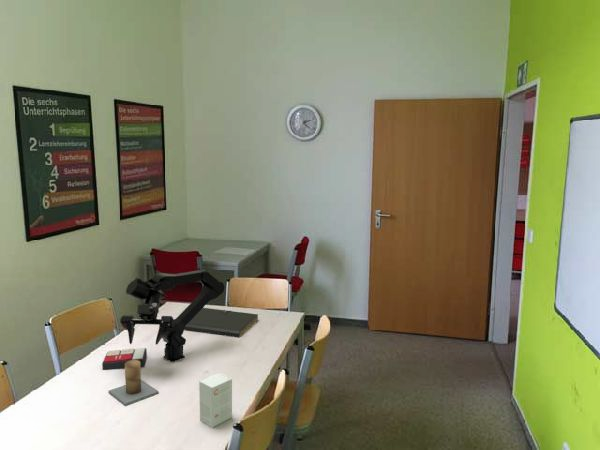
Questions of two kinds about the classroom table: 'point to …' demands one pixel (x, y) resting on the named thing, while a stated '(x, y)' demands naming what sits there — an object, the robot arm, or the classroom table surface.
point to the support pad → (132, 398)
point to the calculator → (124, 358)
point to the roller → (133, 377)
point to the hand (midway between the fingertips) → (143, 344)
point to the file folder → (221, 322)
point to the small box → (215, 399)
